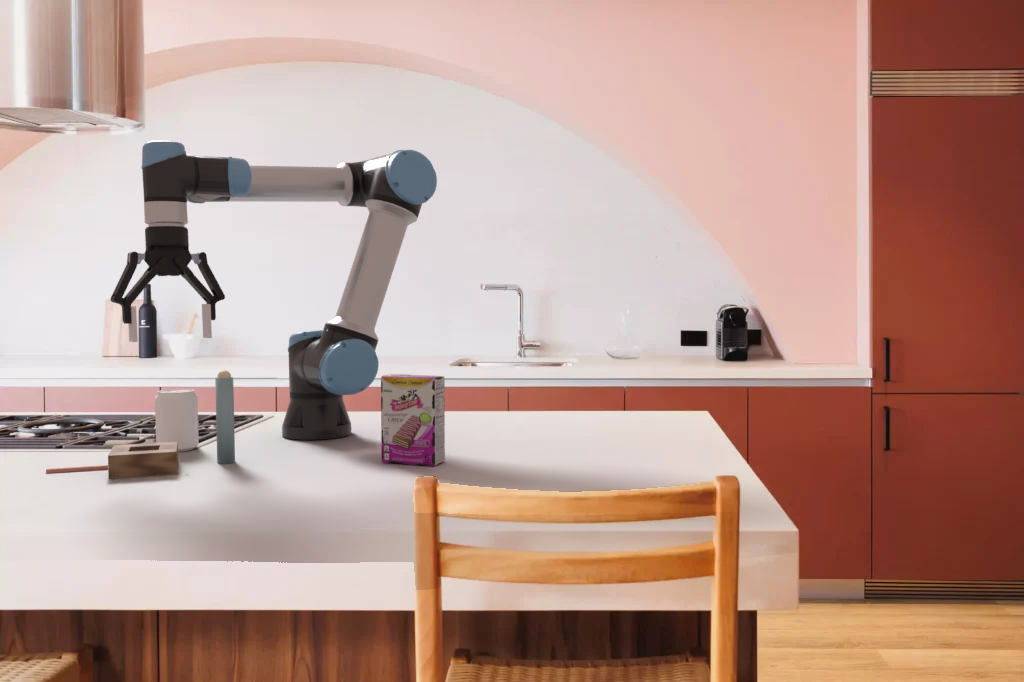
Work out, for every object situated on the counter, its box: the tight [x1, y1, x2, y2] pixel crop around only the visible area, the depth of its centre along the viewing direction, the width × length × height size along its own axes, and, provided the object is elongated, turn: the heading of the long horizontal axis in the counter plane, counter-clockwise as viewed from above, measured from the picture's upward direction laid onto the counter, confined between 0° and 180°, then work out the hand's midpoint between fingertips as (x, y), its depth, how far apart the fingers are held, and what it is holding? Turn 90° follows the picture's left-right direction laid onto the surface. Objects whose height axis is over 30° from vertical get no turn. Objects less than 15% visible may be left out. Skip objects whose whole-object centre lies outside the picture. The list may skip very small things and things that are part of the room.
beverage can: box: [154, 388, 199, 453], centre depth 181 cm, size 8×8×12 cm
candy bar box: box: [380, 373, 446, 467], centre depth 165 cm, size 11×5×16 cm, turn 71°
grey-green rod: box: [214, 369, 236, 465], centre depth 167 cm, size 3×3×17 cm
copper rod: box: [45, 464, 108, 474], centre depth 160 cm, size 10×1×1 cm, turn 109°
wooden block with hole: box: [107, 442, 179, 480], centre depth 160 cm, size 11×11×4 cm
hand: (171, 339), depth 167 cm, fingers open, 13 cm apart
